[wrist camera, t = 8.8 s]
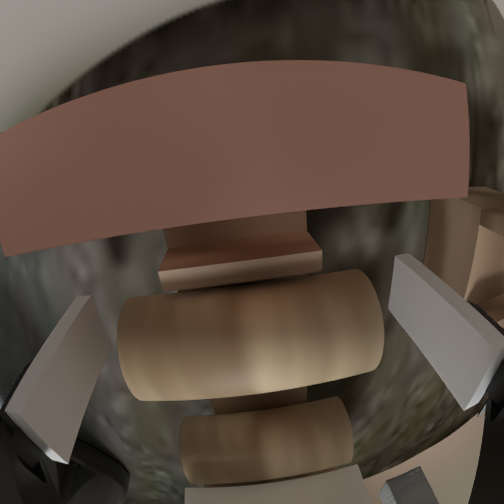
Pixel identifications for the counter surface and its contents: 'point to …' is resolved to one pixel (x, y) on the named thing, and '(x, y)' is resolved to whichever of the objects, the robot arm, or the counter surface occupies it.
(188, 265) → the roller bed
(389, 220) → the counter surface
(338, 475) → the slab
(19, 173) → the block
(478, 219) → the pedestal
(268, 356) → the roller
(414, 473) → the skincare box
